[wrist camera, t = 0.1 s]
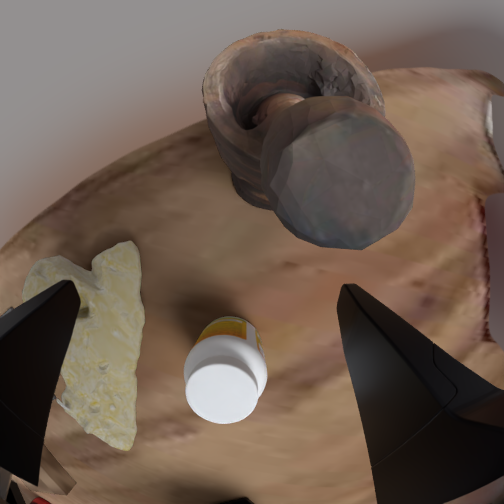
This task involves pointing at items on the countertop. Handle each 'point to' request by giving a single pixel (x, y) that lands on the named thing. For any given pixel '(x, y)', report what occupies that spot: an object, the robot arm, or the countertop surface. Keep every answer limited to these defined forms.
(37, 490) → the block
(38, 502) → the canned food
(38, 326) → the robot arm
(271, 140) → the mortar and pestle
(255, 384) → the supplement bottle
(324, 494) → the countertop surface
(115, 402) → the cream lumpy knobby chunk
